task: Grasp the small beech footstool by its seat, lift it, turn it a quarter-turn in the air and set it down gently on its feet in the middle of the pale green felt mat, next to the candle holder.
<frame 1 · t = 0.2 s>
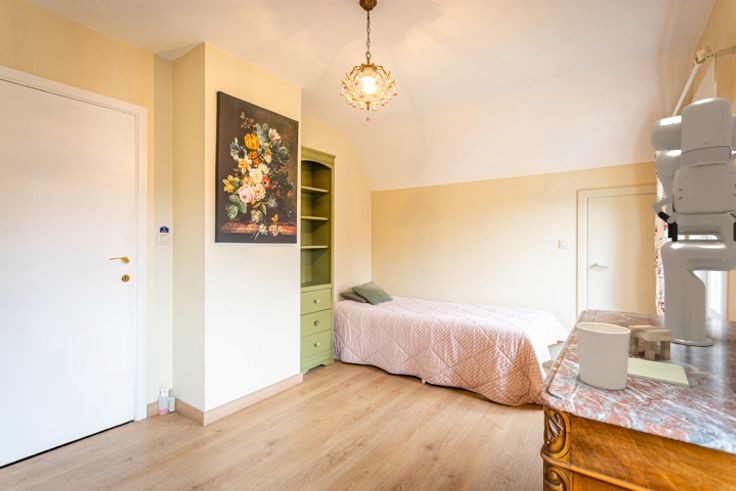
hand: (705, 241, 72), 31 cm above the dresser top, tool pointing down, fingers open, 9 cm apart
candle holder: (602, 383, 74), on the dresser top
felt mat: (650, 371, 81), on the dresser top
footstool: (649, 356, 92), on the dresser top
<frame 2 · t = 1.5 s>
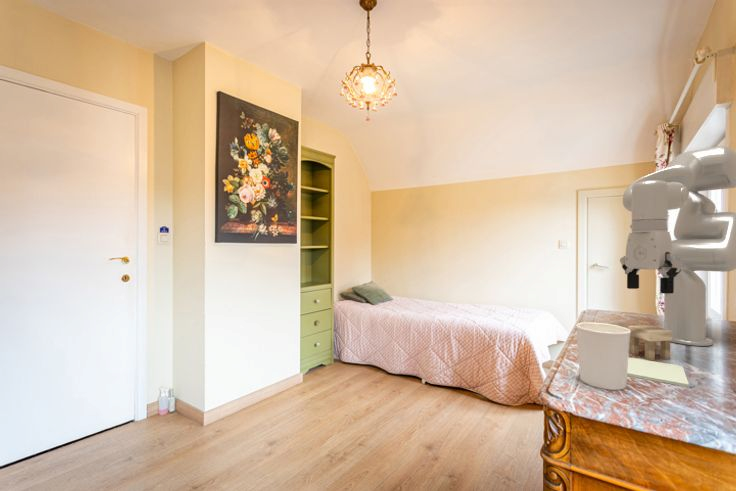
hand: (649, 290, 92), 18 cm above the dresser top, tool pointing down, fingers open, 9 cm apart
nothing on the dresser top moved.
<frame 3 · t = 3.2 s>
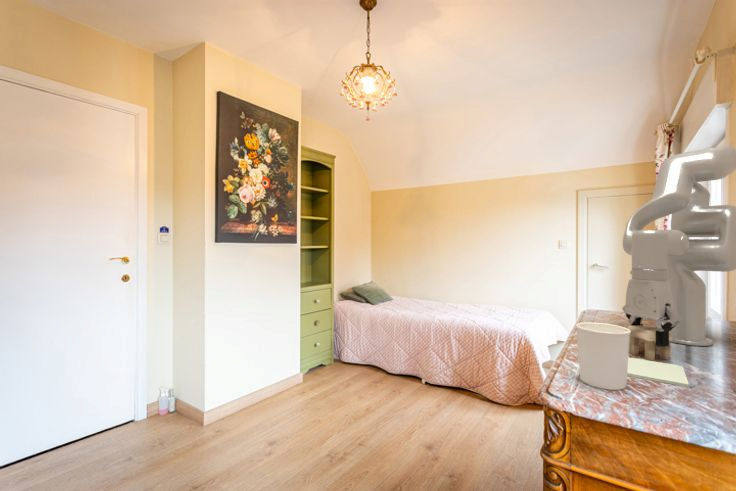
hand: (649, 341, 92), 4 cm above the dresser top, tool pointing down, fingers closed on footstool, 6 cm apart
footstool: (649, 356, 92), on the dresser top, touching gripper
everything else where it was.
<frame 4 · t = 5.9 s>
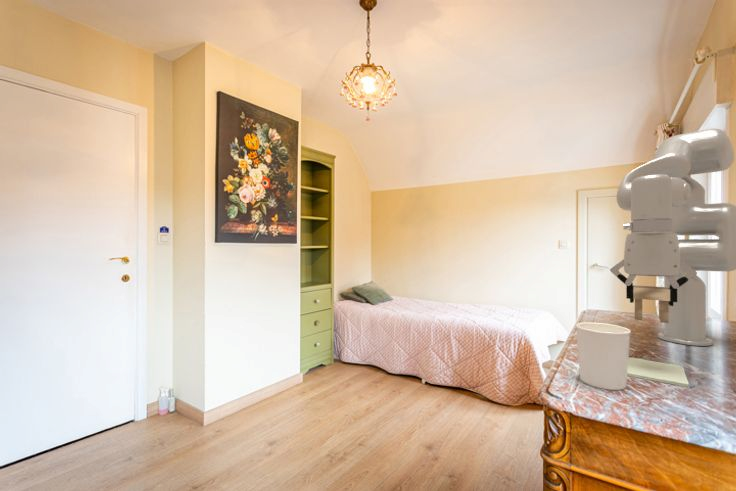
hand: (650, 302, 81), 16 cm above the dresser top, tool pointing down, fingers closed on footstool, 6 cm apart
footstool: (650, 319, 81), point 12 cm above the dresser top, touching gripper
everything else where it was.
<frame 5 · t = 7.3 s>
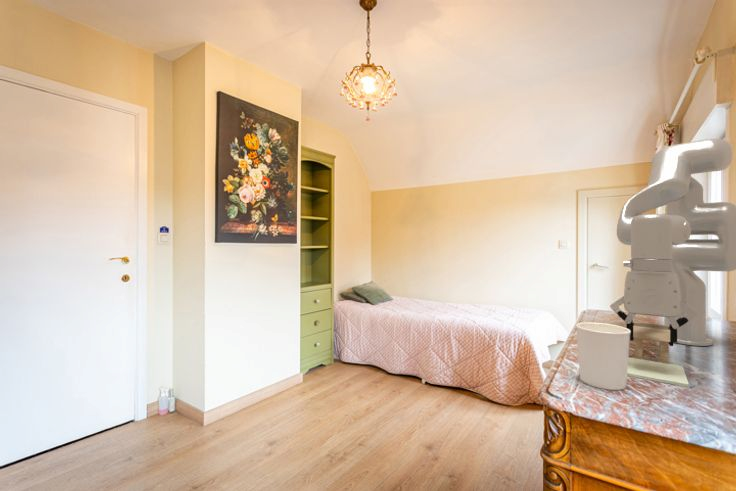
hand: (650, 341, 81), 7 cm above the dresser top, tool pointing down, fingers closed on footstool, 6 cm apart
footstool: (650, 357, 81), point 3 cm above the dresser top, touching gripper
everything else where it was.
when the fingers open (6 cm above the dresser top, at t = 8.5 s): footstool drops 1 cm, resting on felt mat.
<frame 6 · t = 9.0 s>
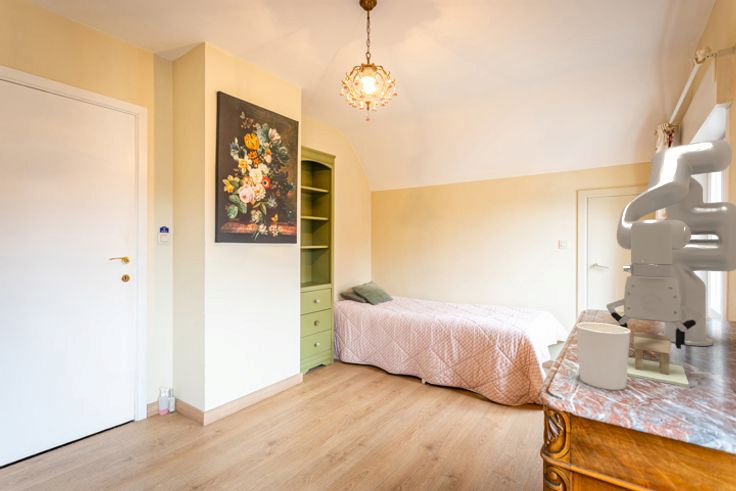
hand: (650, 343, 81), 6 cm above the dresser top, tool pointing down, fingers open, 9 cm apart
footstool: (651, 368, 81), point 1 cm above the dresser top, touching felt mat
everything else where it was.
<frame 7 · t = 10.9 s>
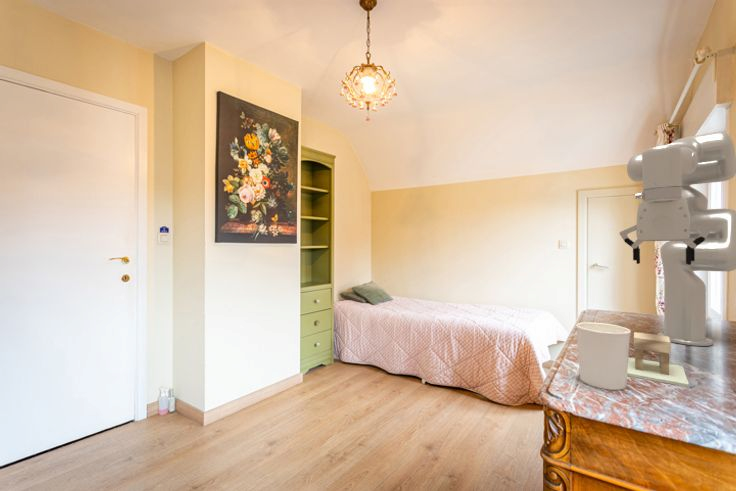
hand: (662, 263, 86), 25 cm above the dresser top, tool pointing down, fingers open, 9 cm apart
nothing on the dresser top moved.
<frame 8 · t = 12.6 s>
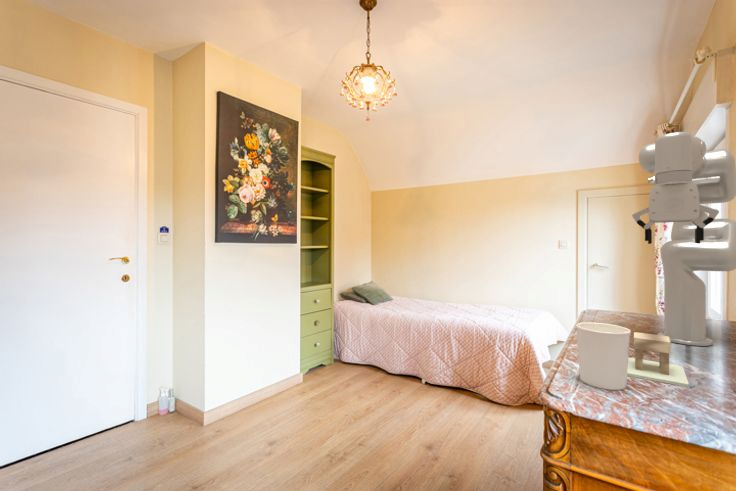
hand: (672, 243, 92), 30 cm above the dresser top, tool pointing down, fingers open, 9 cm apart
nothing on the dresser top moved.
at the end: footstool inside the target area on the felt mat (0.1 cm from its centre), point 0.6 cm above the felt mat's base; footstool tilted 0°; the gripper is holding nothing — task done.
